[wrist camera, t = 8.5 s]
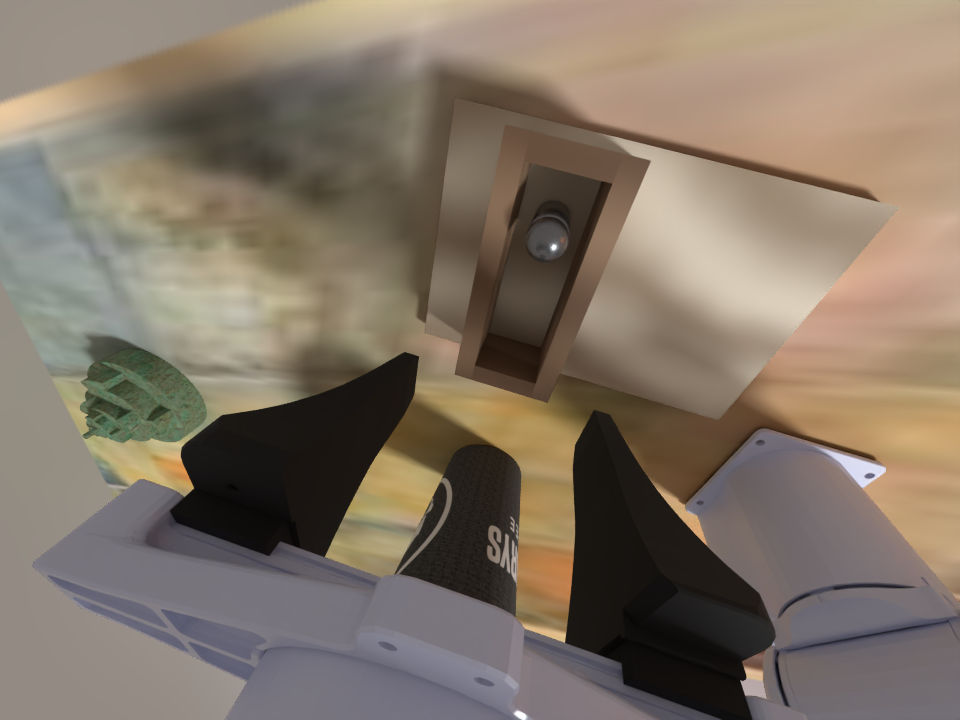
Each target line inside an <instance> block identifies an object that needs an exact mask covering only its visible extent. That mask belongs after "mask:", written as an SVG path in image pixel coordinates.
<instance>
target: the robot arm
mask: <svg viewBox="0 0 960 720" xmlns="http://www.w3.org/2000/svg"><path fill="white" fill-rule="evenodd" d="M418 360H419V356H416V355H413V354H409V353H406V352H404V353H402V354H400V355H398V356H397V357H395V358H393V359H392V360H390V361H388V362H386V363H385V364H383V365H381V366H379V367H378V368H376V369H374V370H372V371H370V372H368V373H366V374H365V375H363V376H361V377H359V378H356V379H354V380H352V381H350V382H348V383H346V384H344V385H341V386H339V387H337V388H334V389H331V390H329V391H326V392H323V393H321V394H318V395H314V396H311V397H308V398H304V399H301V400H298V401H294V402H291V403H287V404H282V405H278V406H274V407H269V408H264V409H259V410H253V411H247V412H240V413H234V414H227V415H222V416H220V417H219V418H218V419H216V420H215V421H214V422H212V423H211V424H210V425H209V426H207V427H206V428H205V429H203V430H202V431H201V432H200V433H198V434H197V435H196V436H194V437H193V438H192V439H191V440H189V441H188V442H187V443H186V444H185V445H184V446H183V447H182V450H181V458H182V462H183V465H184V467H185V469H186V471H187V473H188V475H189V478H190V480H191V482H192V484H193V486H194V489H193V490H192V491H191V492H190V493H189V494H188V495H187V496H185V497H184V496H183V495H181V494H180V493H179V492H177V491H175V490H173V489H170V488H168V487H165V486H162V485H159V484H156V483H153V482H151V481H148V480H145V479H139V480H138V481H137V482H135V483H134V484H133V485H131V486H130V487H129V488H128V489H126V490H125V491H124V492H122V493H121V494H120V495H119V496H117V497H116V498H115V499H114V500H112V501H111V502H110V503H108V504H107V505H106V506H104V507H103V508H102V509H101V510H99V511H98V512H97V513H96V514H94V515H93V516H92V517H90V518H89V519H88V520H86V521H85V522H84V523H83V524H81V525H80V526H79V527H77V528H76V529H75V530H74V531H72V532H71V533H70V534H68V535H67V536H66V537H65V538H63V539H62V540H61V541H59V542H58V543H57V544H56V545H54V546H53V547H52V548H50V549H49V550H48V551H47V552H45V553H44V554H43V555H41V556H40V557H39V558H38V559H36V560H35V561H34V562H33V564H32V567H33V568H34V569H35V570H37V571H38V572H39V573H40V574H41V575H43V576H44V577H45V578H46V579H47V580H48V581H49V582H51V583H52V584H53V585H54V586H55V587H57V588H58V589H59V590H60V591H61V592H63V593H64V594H65V595H66V596H67V597H68V598H69V599H71V600H72V601H73V602H74V603H76V604H77V605H78V606H79V607H81V608H83V609H85V610H87V611H90V612H92V613H95V614H97V615H100V616H102V617H105V618H107V619H110V620H112V621H115V622H117V623H119V624H122V625H124V626H126V627H129V628H131V629H133V630H136V631H138V632H140V633H143V634H145V635H147V636H149V637H151V638H153V639H156V640H158V641H160V642H162V643H164V644H167V645H169V646H171V647H173V648H175V649H177V650H180V651H182V652H184V653H186V654H189V655H190V656H193V657H195V658H197V659H199V660H201V661H203V662H205V663H208V664H210V665H212V666H214V667H216V668H218V669H221V670H223V671H225V672H227V673H229V674H231V675H233V676H235V677H238V678H240V679H242V680H244V681H246V682H247V683H246V685H245V686H244V688H243V690H242V691H241V693H240V695H239V696H238V698H237V700H236V702H235V703H234V705H233V706H232V708H231V710H230V711H229V713H228V715H227V716H226V718H225V720H960V603H959V601H958V600H957V599H956V598H955V597H954V596H953V594H952V593H951V592H950V591H949V590H948V589H947V587H946V586H945V585H944V584H943V583H942V581H941V580H940V579H939V578H938V577H937V576H936V574H935V573H934V572H933V571H932V570H931V569H930V567H929V566H928V565H927V564H926V563H925V561H924V560H923V559H922V558H921V557H920V556H919V554H918V553H917V552H916V551H915V550H914V549H913V547H912V546H911V545H910V544H909V543H908V541H907V540H906V539H905V538H904V537H903V536H902V534H901V533H900V532H899V531H898V530H897V529H896V527H895V526H894V525H893V524H892V523H891V521H890V520H889V519H888V518H887V517H886V516H885V514H884V513H883V512H882V511H881V510H880V508H879V507H878V506H877V505H876V504H875V503H874V501H873V500H872V499H871V498H870V497H869V496H868V494H867V493H866V492H865V491H864V490H863V488H864V487H865V486H866V485H868V484H869V483H871V482H872V481H873V480H875V479H876V478H878V477H879V476H881V475H882V474H883V473H884V472H885V471H886V468H885V466H884V465H883V464H882V463H880V462H877V461H874V460H871V459H867V458H864V457H860V456H857V455H854V454H850V453H847V452H844V451H840V450H837V449H834V448H830V447H827V446H824V445H820V444H817V443H813V442H810V441H807V440H803V439H800V438H797V437H793V436H790V435H787V434H783V433H780V432H776V431H773V430H770V429H765V428H764V429H759V430H757V431H756V432H755V433H754V434H753V435H752V436H751V437H750V438H749V439H748V440H747V441H746V442H745V443H744V444H743V445H742V446H741V447H740V448H739V449H738V450H737V451H736V452H735V453H734V454H733V455H732V457H731V458H730V459H729V460H728V461H727V462H726V463H725V464H724V465H723V466H722V467H721V468H720V469H719V470H718V471H717V472H716V473H715V474H714V475H713V476H712V477H711V478H710V479H709V480H708V481H707V482H706V484H705V485H704V486H703V487H702V488H701V489H700V490H699V491H698V492H697V493H696V494H695V495H694V496H693V497H692V498H691V499H690V500H689V501H688V502H687V503H686V504H685V508H686V511H687V512H689V513H692V514H695V515H697V516H698V519H699V522H700V525H701V528H702V530H703V533H704V536H705V539H706V542H707V545H708V547H707V546H706V545H705V544H704V543H703V542H702V541H701V540H700V539H699V538H698V537H697V536H696V535H695V534H694V533H693V531H692V530H691V529H690V528H689V527H688V526H687V525H686V524H685V523H684V522H683V521H682V519H681V518H680V517H679V516H678V515H677V514H676V513H675V512H674V510H673V509H672V508H671V507H670V506H669V504H668V503H667V502H666V501H665V499H664V498H663V497H662V496H661V494H660V493H659V492H658V491H657V489H656V488H655V486H654V485H653V484H652V482H651V481H650V480H649V478H648V477H647V475H646V474H645V472H644V471H643V469H642V468H641V466H640V465H639V463H638V462H637V460H636V459H635V457H634V455H633V454H632V452H631V451H630V449H629V447H628V445H627V444H626V442H625V440H624V439H623V437H622V435H621V433H620V432H619V430H618V428H617V426H616V425H615V423H614V421H613V419H612V418H611V416H610V415H609V414H606V413H603V412H599V411H596V410H594V411H593V413H592V415H591V417H590V419H589V420H588V422H587V424H586V426H585V428H584V430H583V431H582V433H581V435H580V437H579V439H578V441H577V443H576V444H575V451H574V461H573V485H574V506H575V546H574V562H573V574H572V587H571V596H570V606H569V616H568V624H567V632H566V640H565V643H563V642H561V641H558V640H555V639H552V638H549V637H547V636H544V635H541V634H538V633H535V632H533V631H530V630H527V629H524V627H523V626H522V624H521V623H520V622H519V621H518V620H517V619H516V618H515V617H514V616H513V615H512V614H511V613H509V612H507V611H505V610H503V609H501V608H499V607H497V606H494V605H491V604H488V603H485V602H482V601H480V600H477V599H474V598H471V597H468V596H466V595H463V594H460V593H457V592H454V591H451V590H449V589H446V588H443V587H440V586H437V585H434V584H432V583H429V582H426V581H423V580H420V579H418V578H414V577H410V576H405V575H401V574H394V575H386V576H383V577H378V576H376V575H373V574H370V573H367V572H364V571H362V570H359V569H356V568H353V567H350V566H348V565H345V564H342V563H339V562H336V561H334V560H331V559H328V558H325V555H326V553H327V551H328V549H329V547H330V545H331V542H332V540H333V538H334V536H335V534H336V532H337V530H338V528H339V526H340V524H341V522H342V520H343V517H344V515H345V513H346V511H347V509H348V507H349V505H350V503H351V501H352V500H353V498H354V496H355V494H356V492H357V490H358V488H359V486H360V484H361V482H362V480H363V478H364V477H365V475H366V473H367V471H368V469H369V467H370V465H371V464H372V462H373V461H374V459H375V457H376V456H377V454H378V453H379V451H380V450H381V448H382V447H383V445H384V444H385V442H386V441H387V440H388V438H389V437H390V435H391V434H392V432H393V431H394V429H395V428H396V426H397V425H398V423H399V422H400V420H401V419H402V417H403V416H404V414H405V412H406V410H407V408H408V406H409V404H410V402H411V400H412V398H413V396H414V392H415V384H416V376H417V368H418ZM758 440H761V441H758ZM757 441H758V442H757ZM771 645H772V646H771ZM770 646H771V647H770ZM767 648H768V649H767ZM766 649H767V650H766ZM764 650H766V651H765V653H764V657H763V682H764V688H765V693H766V697H767V699H765V698H761V697H757V696H745V694H744V691H743V688H742V685H741V682H740V680H741V681H744V680H746V673H745V670H744V667H743V664H742V661H743V660H745V659H747V658H750V657H752V656H754V655H756V654H758V653H760V652H762V651H764Z"/></svg>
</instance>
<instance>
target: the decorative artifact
mask: <svg viewBox="0 0 960 720" xmlns="http://www.w3.org/2000/svg"><path fill="white" fill-rule="evenodd" d="M81 383H82V384H83V385H84V386H85V387H86V388H88V389H89V390H87V391H86V394H85V398H86V401H85V402H83V403H82V404H81V405H80V410H81V411H82V412H84V413H86V414H88V416H86V417H85V418H86V419H87V420H88V421H86V424H87V426H88V427H89V428H90V429H89V432H87V433H85V434H83V435H82V436H83V437H84V438H85V439H88V438H89V437H91V436H93V435H96V436H97V437H98V436H101V437H104V438H109V439H111V440H112V439H113V440H115V441H117V442H121V443H124V442H125V441H127V440H129V439H133V440H137V441H148V440H149V439H151V438H153V439H156V440H159V441H164V442H177V441H179V440H181V439H182V438H184V437H185V436H186V435H188V434H189V433H190V432H192V431H193V430H194V429H196V428H197V427H198V426H199V425H201V424H202V423H203V422H204V421H205V419H206V416H207V410H206V406H205V403H204V401H203V399H202V397H201V395H200V393H199V392H198V390H197V389H196V388H195V386H194V385H193V384H192V383H191V382H190V381H189V380H188V379H187V378H186V377H185V376H184V375H183V374H182V373H181V372H180V371H179V370H177V369H176V368H175V367H174V366H172V365H171V364H169V363H168V362H166V361H165V360H163V359H161V358H160V357H158V356H156V355H154V354H151V353H149V352H146V351H143V350H139V349H124V350H122V351H120V352H117V353H115V354H113V355H111V356H109V357H107V358H105V359H102V360H100V361H98V362H96V363H94V364H92V365H91V366H90V367H89V369H88V378H87V379H85V380H83V381H81Z"/></svg>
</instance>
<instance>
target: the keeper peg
mask: <svg viewBox="0 0 960 720" xmlns="http://www.w3.org/2000/svg"><path fill="white" fill-rule="evenodd" d="M569 241H570V215H569V211H568V209H567V207H566V206H565V205H564V204H563V203H562V202H560V201H556V200H550V201H547V202H545V203H543V204H542V205H541V206H540V207H539V208H538V209H537V211H536V213H535V215H534V217H533V219H532V221H531V224H530V226H529V228H528V230H527V232H526V235H525V247H526V250H527V252H528V254H529V255H530V257H532V258H533V259H534V260H536V261H538V262H541V263H551V262H554V261H556V260H558V259H559V258H561V257H562V256H563V255H564V253H565V252H566V250H567V248H568V246H569Z"/></svg>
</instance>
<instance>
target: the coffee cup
mask: <svg viewBox="0 0 960 720" xmlns="http://www.w3.org/2000/svg"><path fill="white" fill-rule="evenodd" d="M520 492H521V471H520V468H519V466H518V464H517V463H516V462H515V461H514V459H513V458H512V457H510V456H509V455H508V454H506V453H505V452H503V451H501V450H499V449H497V448H494V447H490V446H485V445H470V446H466V447H463V448H461V449H460V450H458V451H457V452H456V453H455V454H454V455H453V457H452V459H451V461H450V463H449V465H448V467H447V469H446V471H445V473H444V475H443V477H442V479H441V481H440V483H439V486H438V488H437V490H436V492H435V494H434V496H433V498H432V500H431V502H430V504H429V506H428V508H427V510H426V512H425V514H424V516H423V518H422V520H421V522H420V524H419V526H418V528H417V530H416V532H415V534H414V536H413V538H412V540H411V542H410V544H409V546H408V548H407V550H406V552H405V554H404V556H403V558H402V560H401V562H400V564H399V566H398V568H397V570H396V572H395V574H401V575H405V576H410V577H414V578H418V579H420V580H423V581H426V582H429V583H432V584H434V585H437V586H440V587H443V588H446V589H449V590H451V591H454V592H457V593H460V594H463V595H466V596H468V597H471V598H474V599H477V600H480V601H482V602H485V603H488V604H491V605H494V606H497V607H499V608H501V609H503V610H505V611H507V612H509V613H511V614H512V615H513V616H514V617H515V615H516V588H517V563H518V539H519V515H520Z"/></svg>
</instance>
